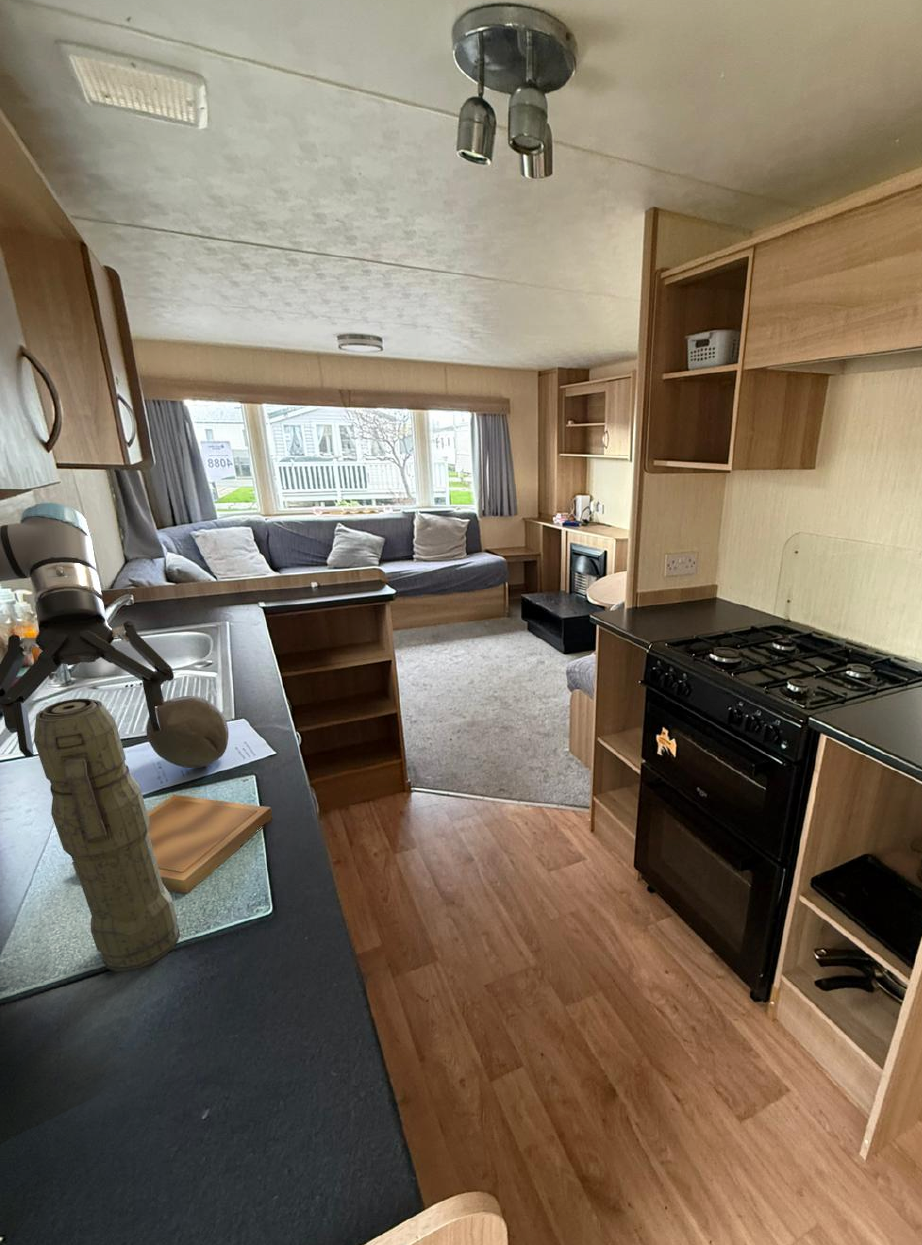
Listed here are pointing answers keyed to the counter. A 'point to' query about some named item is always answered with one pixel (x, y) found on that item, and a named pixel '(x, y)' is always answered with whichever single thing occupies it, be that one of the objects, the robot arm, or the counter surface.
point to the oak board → (198, 836)
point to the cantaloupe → (189, 732)
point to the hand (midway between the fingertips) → (94, 739)
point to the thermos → (105, 833)
